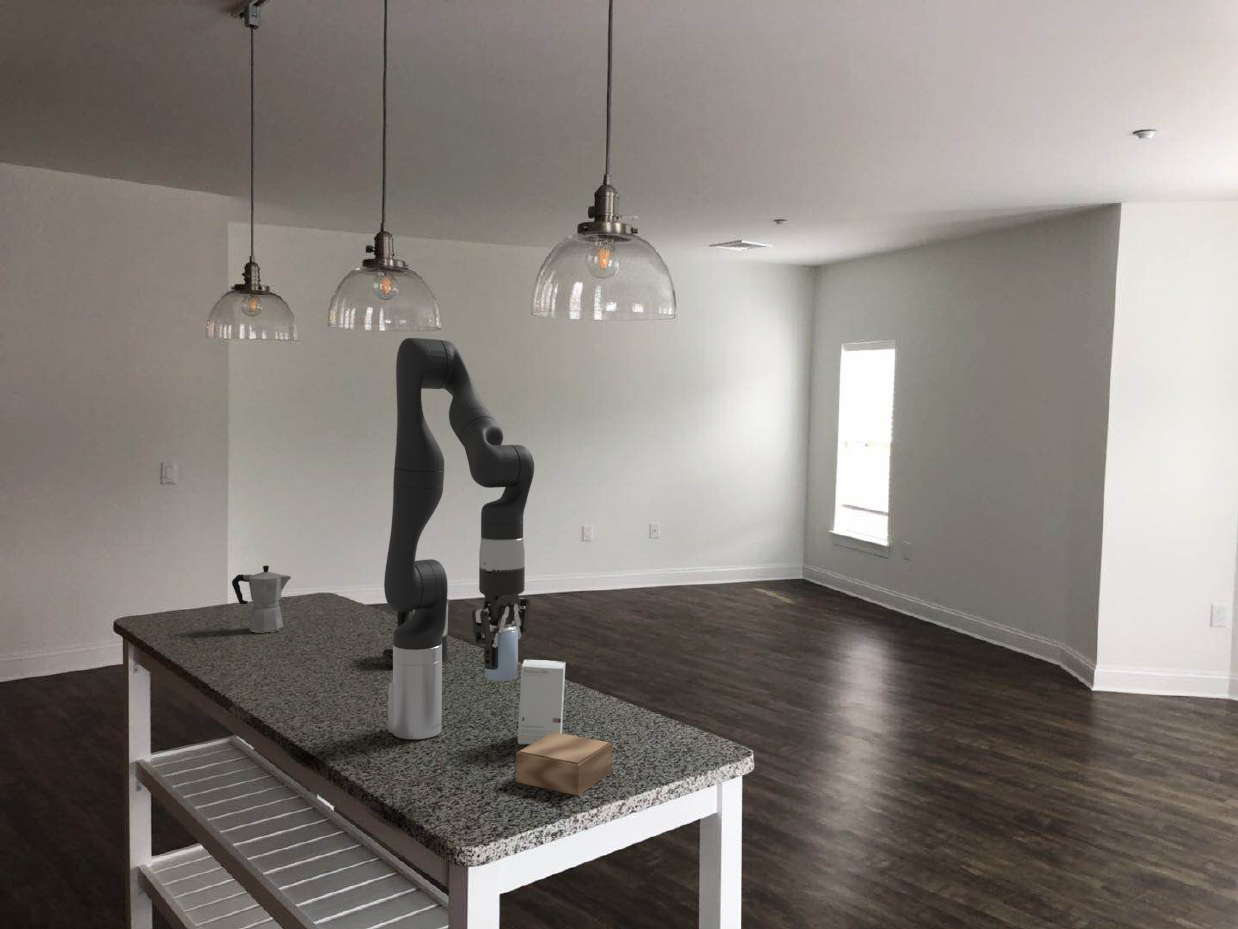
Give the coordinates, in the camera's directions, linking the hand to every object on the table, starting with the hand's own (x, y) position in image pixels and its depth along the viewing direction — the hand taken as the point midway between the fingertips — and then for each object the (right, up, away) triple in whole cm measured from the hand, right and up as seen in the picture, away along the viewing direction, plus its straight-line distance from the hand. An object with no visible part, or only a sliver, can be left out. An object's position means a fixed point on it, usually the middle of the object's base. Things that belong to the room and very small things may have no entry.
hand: (501, 664), depth 165 cm
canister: (0, -2, 0) cm, 2 cm away
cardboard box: (+10, -20, +3) cm, 23 cm away
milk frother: (-30, -15, +76) cm, 84 cm away
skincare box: (+5, -19, +22) cm, 29 cm away
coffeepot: (-79, -12, +107) cm, 133 cm away
